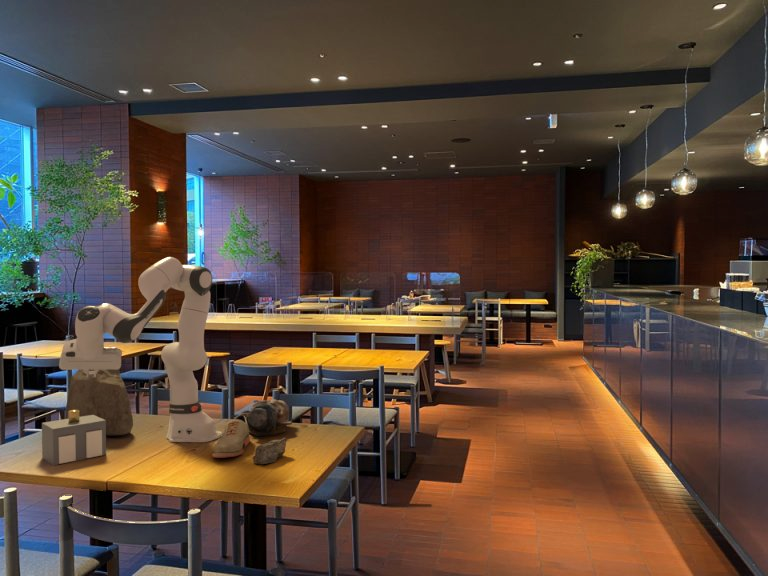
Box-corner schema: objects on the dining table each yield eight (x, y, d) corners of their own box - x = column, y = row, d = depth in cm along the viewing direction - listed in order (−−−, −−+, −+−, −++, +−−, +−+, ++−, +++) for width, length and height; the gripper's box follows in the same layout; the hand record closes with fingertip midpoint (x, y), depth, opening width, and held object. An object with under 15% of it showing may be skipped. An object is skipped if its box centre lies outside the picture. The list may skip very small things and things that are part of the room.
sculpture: (292, 438, 245) (292, 405, 245) (239, 442, 241) (239, 407, 241) (289, 424, 270) (289, 393, 270) (241, 426, 266) (240, 395, 265)
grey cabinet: (106, 454, 224) (105, 420, 224) (53, 465, 212) (52, 429, 211) (93, 447, 233) (93, 414, 233) (42, 457, 221) (41, 422, 221)
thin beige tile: (75, 460, 216) (75, 434, 216) (59, 463, 212) (59, 437, 212) (64, 453, 225) (64, 428, 225) (48, 456, 221) (48, 431, 221)
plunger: (102, 455, 222) (101, 429, 222) (86, 458, 219) (86, 432, 219) (90, 448, 231) (89, 424, 231) (75, 451, 228) (74, 426, 227)
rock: (265, 440, 227) (288, 434, 225) (269, 457, 226) (293, 452, 224) (244, 451, 210) (270, 445, 208) (249, 470, 210) (275, 464, 207)
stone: (89, 422, 276) (88, 357, 275) (157, 425, 269) (157, 359, 269) (49, 436, 251) (48, 365, 251) (123, 440, 245) (122, 367, 244)
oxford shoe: (206, 464, 212) (205, 432, 212) (223, 440, 244) (223, 412, 244) (238, 464, 213) (238, 431, 213) (251, 440, 245) (251, 411, 244)
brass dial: (81, 420, 224) (81, 410, 223) (74, 423, 220) (74, 412, 220) (73, 420, 224) (73, 409, 224) (66, 422, 221) (66, 411, 221)
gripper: (122, 342, 220) (122, 370, 227) (60, 341, 213) (62, 370, 220) (121, 353, 215) (121, 381, 222) (57, 353, 208) (59, 382, 215)
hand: (91, 376), depth 221 cm, fingers closed
